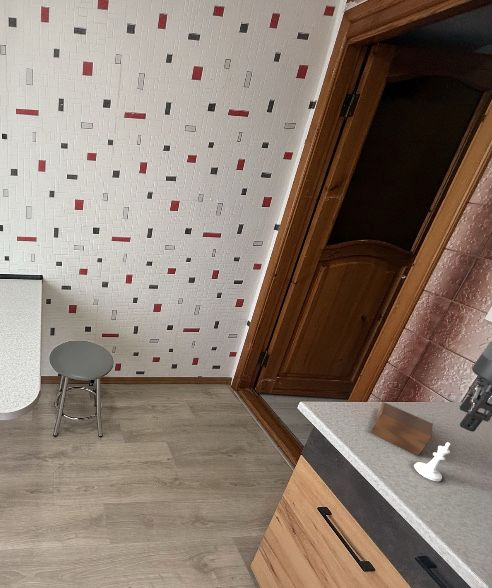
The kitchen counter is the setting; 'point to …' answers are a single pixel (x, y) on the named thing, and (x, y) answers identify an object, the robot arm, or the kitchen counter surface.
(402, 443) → the wood grain box
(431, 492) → the kitchen counter surface
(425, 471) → the chess piece
